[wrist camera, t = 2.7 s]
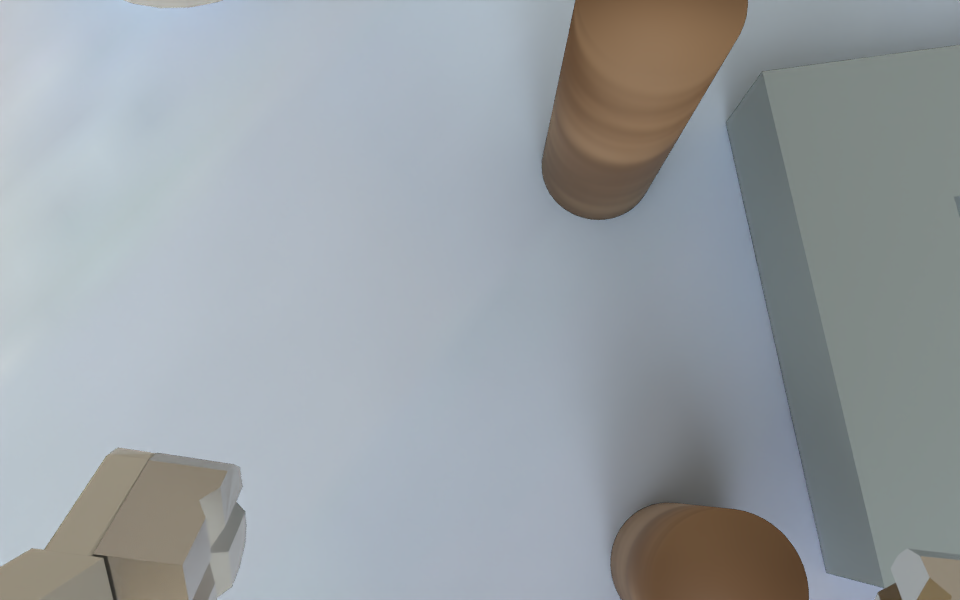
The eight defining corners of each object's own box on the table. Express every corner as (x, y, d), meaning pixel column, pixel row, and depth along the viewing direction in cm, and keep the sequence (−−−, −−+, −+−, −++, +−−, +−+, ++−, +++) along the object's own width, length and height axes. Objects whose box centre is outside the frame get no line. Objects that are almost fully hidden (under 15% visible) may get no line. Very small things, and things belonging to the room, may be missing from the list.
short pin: (743, 618, 27) (824, 660, 21) (622, 638, 27) (667, 685, 21) (718, 494, 28) (789, 497, 22) (600, 512, 28) (637, 521, 22)
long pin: (661, 211, 30) (763, 62, 20) (551, 226, 30) (594, 85, 19) (640, 108, 31) (728, -89, 20) (533, 123, 31) (565, -68, 20)
